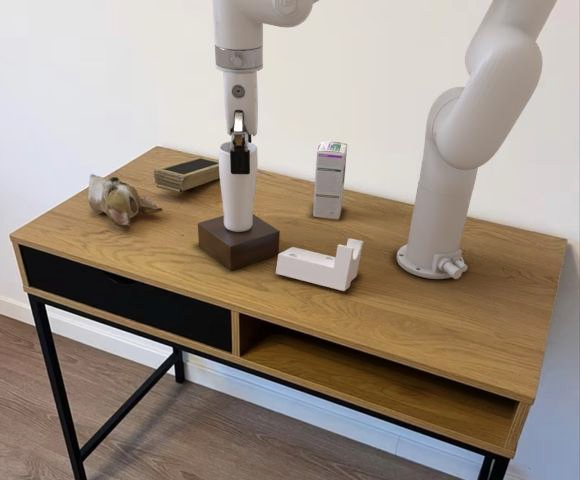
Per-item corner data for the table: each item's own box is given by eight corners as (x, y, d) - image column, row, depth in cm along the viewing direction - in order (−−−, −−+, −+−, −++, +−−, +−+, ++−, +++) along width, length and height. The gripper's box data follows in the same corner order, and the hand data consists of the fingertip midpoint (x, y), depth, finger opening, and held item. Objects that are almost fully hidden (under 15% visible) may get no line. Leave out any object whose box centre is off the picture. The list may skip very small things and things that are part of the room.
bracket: (355, 281, 116) (363, 241, 113) (344, 291, 110) (352, 248, 107) (289, 265, 120) (295, 225, 117) (275, 273, 113) (281, 232, 110)
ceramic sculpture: (110, 158, 131) (164, 182, 125) (113, 197, 136) (165, 221, 131) (69, 174, 124) (124, 200, 118) (74, 214, 129) (127, 240, 124)
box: (151, 191, 137) (152, 168, 134) (203, 173, 156) (204, 153, 153) (185, 200, 135) (186, 177, 132) (233, 181, 153) (235, 160, 151)
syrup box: (339, 220, 134) (346, 152, 125) (311, 217, 134) (316, 149, 125) (341, 208, 138) (348, 142, 129) (315, 205, 139) (320, 139, 130)
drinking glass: (255, 236, 116) (256, 155, 106) (218, 234, 115) (216, 153, 106) (257, 219, 121) (258, 141, 112) (221, 217, 121) (220, 139, 112)
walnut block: (278, 254, 121) (279, 231, 118) (230, 271, 115) (230, 246, 112) (245, 232, 127) (245, 209, 124) (198, 246, 122) (197, 222, 119)
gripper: (262, 72, 93) (262, 183, 104) (263, 45, 107) (263, 145, 118) (211, 71, 93) (216, 182, 104) (218, 44, 107) (223, 144, 117)
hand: (241, 162), depth 111 cm, fingers open, 9 cm apart
